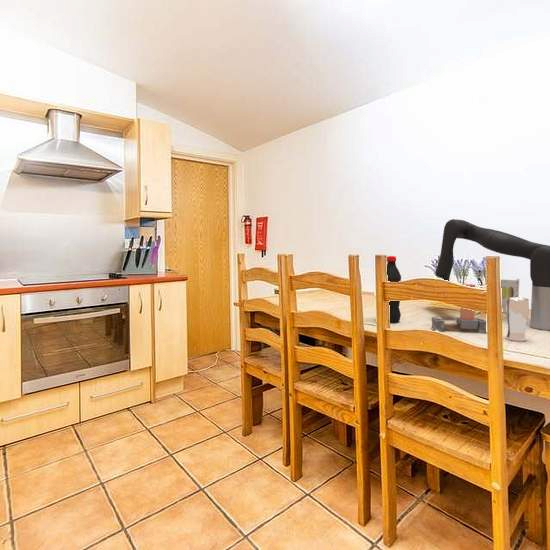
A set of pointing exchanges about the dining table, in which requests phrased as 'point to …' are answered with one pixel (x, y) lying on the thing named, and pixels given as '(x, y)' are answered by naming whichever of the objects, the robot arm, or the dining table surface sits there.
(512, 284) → the supplement box
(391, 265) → the cola bottle
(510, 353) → the dining table surface
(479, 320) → the rail
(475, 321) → the tall salmon pink pillar
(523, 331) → the beer glass
